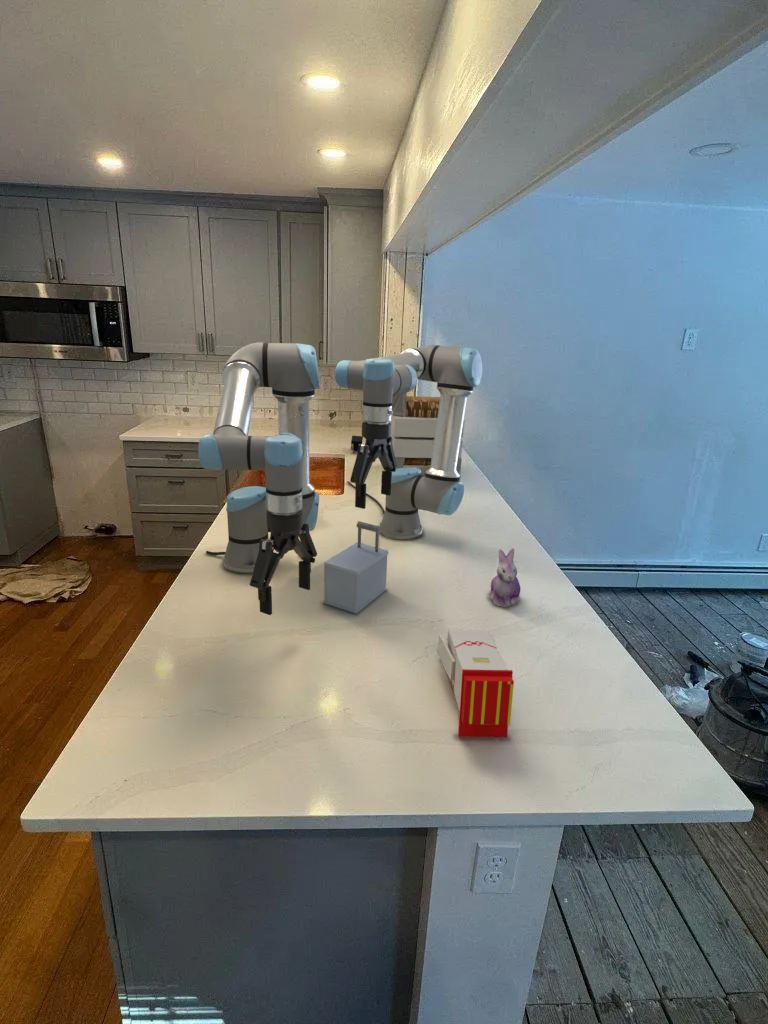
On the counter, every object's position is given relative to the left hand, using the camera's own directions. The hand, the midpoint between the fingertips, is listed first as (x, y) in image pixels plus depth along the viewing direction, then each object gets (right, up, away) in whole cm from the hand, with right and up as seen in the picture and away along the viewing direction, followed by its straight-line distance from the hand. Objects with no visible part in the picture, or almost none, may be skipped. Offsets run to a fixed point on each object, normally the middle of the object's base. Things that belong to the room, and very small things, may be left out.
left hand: (286, 600), depth 126 cm
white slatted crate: (+39, +38, +149) cm, 159 cm away
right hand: (+19, +23, +25) cm, 39 cm away
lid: (+15, +7, +26) cm, 30 cm away
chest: (+14, -4, +29) cm, 33 cm away
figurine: (+55, -5, +31) cm, 63 cm away
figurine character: (+7, +53, +184) cm, 192 cm away
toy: (+40, -18, -8) cm, 44 cm away
